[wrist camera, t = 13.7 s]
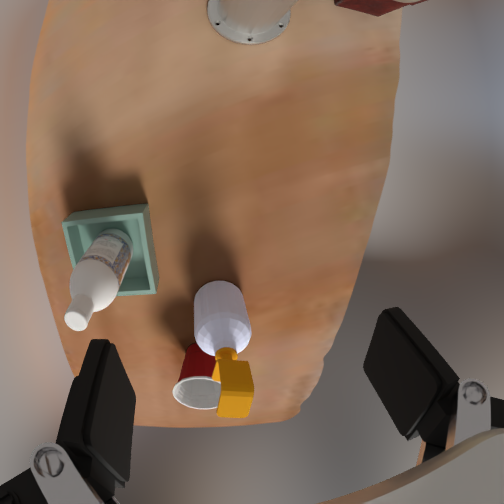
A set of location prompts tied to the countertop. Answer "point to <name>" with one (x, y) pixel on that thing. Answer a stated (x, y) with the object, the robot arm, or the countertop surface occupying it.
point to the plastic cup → (197, 380)
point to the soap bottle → (225, 344)
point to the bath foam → (98, 276)
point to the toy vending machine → (373, 5)
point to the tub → (134, 226)
